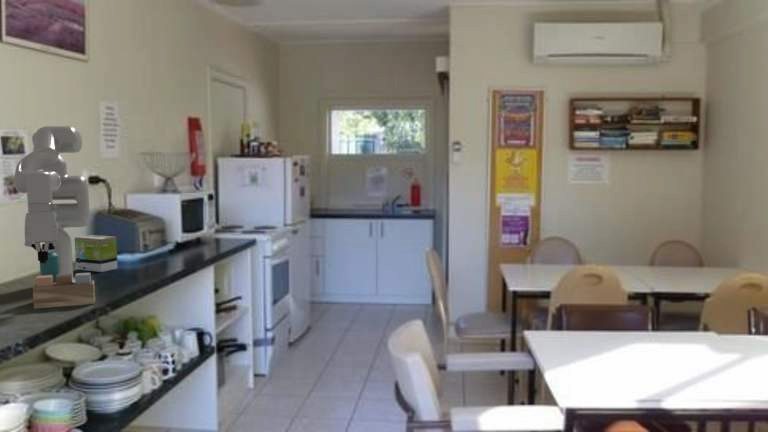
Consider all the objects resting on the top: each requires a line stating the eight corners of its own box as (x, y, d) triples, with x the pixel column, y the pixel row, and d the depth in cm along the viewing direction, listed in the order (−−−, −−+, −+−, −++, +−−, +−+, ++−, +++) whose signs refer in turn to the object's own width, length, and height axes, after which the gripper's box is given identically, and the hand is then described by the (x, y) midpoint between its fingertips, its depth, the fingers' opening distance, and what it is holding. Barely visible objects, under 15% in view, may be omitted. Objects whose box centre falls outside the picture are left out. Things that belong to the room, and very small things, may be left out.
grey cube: (76, 287, 243) (76, 273, 243) (91, 286, 245) (90, 272, 244) (75, 290, 239) (75, 275, 238) (90, 289, 240) (89, 274, 240)
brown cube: (57, 289, 241) (57, 274, 241) (72, 288, 243) (71, 273, 242) (56, 291, 237) (55, 276, 236) (71, 290, 238) (70, 275, 238)
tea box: (75, 270, 309) (73, 237, 307) (92, 266, 318) (90, 234, 317) (101, 272, 303) (100, 238, 302) (118, 268, 312) (117, 235, 311)
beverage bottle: (53, 301, 245) (50, 244, 243) (36, 300, 246) (33, 244, 244) (65, 297, 251) (62, 242, 249) (49, 297, 252) (46, 241, 250)
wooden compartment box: (36, 304, 240) (35, 284, 240) (95, 300, 246) (94, 280, 246) (33, 308, 234) (32, 287, 233) (94, 303, 240) (93, 283, 239)
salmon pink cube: (38, 290, 239) (37, 275, 239) (53, 289, 241) (52, 274, 240) (36, 292, 235) (35, 278, 234) (51, 291, 236) (51, 277, 236)
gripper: (65, 207, 241) (68, 260, 242) (17, 208, 236) (20, 262, 237) (63, 208, 234) (66, 263, 235) (13, 210, 229) (16, 265, 230)
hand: (43, 262), depth 236 cm, fingers closed
